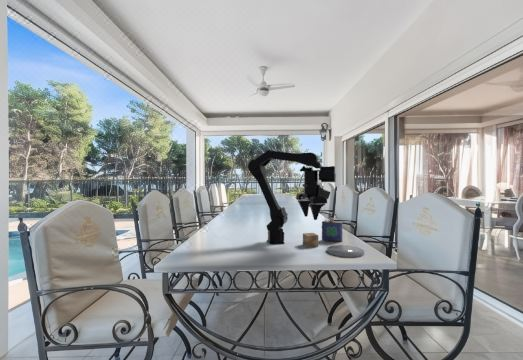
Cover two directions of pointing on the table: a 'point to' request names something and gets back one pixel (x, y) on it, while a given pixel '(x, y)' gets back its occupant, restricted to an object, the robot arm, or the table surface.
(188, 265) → the table surface
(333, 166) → the robot arm
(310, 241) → the walnut cube
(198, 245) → the table surface
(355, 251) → the slate plate
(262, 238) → the table surface
